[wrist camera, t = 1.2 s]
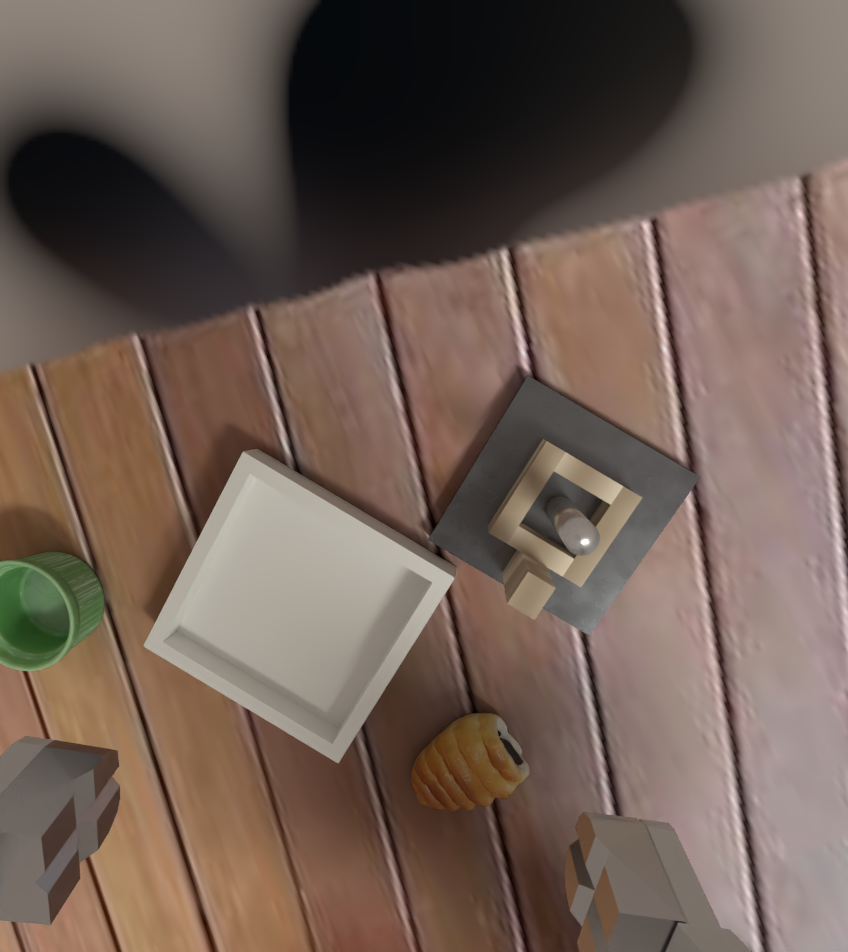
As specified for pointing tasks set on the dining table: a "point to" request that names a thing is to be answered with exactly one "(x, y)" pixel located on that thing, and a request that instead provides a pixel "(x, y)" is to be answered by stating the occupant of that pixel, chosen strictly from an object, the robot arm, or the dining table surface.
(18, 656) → the ramekin
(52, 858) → the robot arm
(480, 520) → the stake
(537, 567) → the ring
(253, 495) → the tray
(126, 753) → the dining table surface
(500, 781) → the pastry
